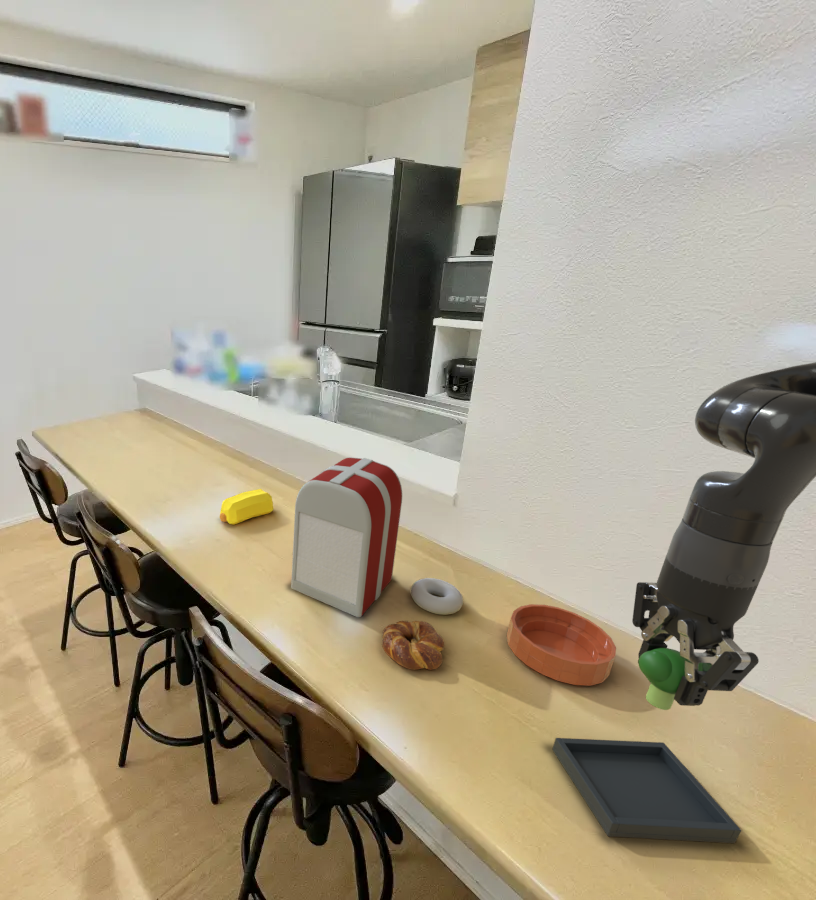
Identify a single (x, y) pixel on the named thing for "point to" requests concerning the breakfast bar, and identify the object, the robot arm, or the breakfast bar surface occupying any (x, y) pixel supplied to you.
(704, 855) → the breakfast bar surface
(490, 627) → the breakfast bar surface
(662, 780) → the tray
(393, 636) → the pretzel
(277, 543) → the breakfast bar surface
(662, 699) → the broccoli
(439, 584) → the donut
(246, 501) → the yellow faceted capsule
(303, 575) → the red grey arched block
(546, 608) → the bowl
